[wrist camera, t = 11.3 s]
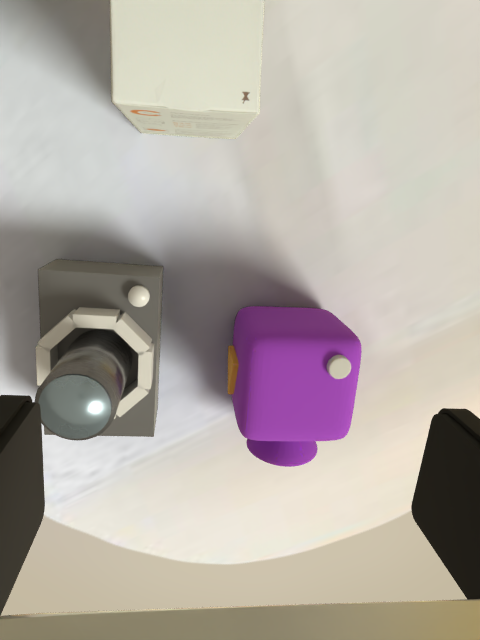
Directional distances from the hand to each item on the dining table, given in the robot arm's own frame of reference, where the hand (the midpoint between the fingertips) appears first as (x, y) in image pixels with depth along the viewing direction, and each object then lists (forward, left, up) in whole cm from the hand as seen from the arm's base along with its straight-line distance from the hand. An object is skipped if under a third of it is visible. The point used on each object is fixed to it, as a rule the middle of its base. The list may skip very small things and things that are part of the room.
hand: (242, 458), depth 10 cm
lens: (+8, -8, -25) cm, 28 cm away
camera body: (+8, -8, -30) cm, 32 cm away
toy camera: (+10, +8, -31) cm, 33 cm away
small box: (-13, -2, -31) cm, 33 cm away
